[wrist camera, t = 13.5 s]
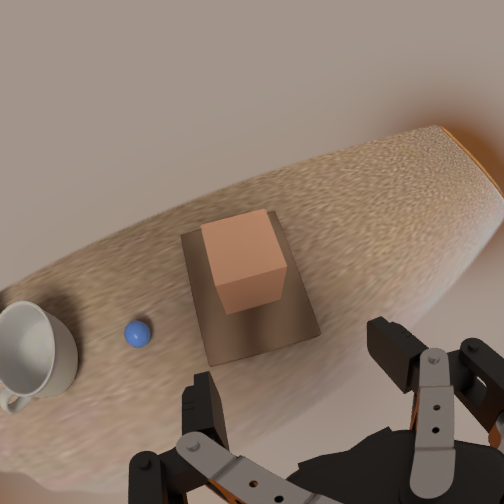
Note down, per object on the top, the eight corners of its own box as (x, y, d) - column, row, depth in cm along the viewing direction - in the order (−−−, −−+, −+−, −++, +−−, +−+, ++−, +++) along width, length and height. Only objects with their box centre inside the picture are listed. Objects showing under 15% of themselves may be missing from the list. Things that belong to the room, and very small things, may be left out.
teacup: (55, 305, 33) (19, 281, 26) (105, 355, 30) (67, 340, 23) (10, 379, 28) (-29, 368, 20) (54, 435, 25) (13, 436, 18)
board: (211, 366, 30) (209, 365, 29) (182, 239, 37) (180, 235, 36) (318, 335, 31) (321, 333, 30) (274, 216, 38) (274, 211, 37)
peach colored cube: (226, 314, 31) (215, 286, 24) (213, 265, 34) (200, 225, 26) (280, 299, 32) (287, 266, 24) (264, 251, 34) (265, 208, 27)
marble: (132, 351, 30) (121, 347, 28) (128, 327, 32) (118, 320, 29) (156, 347, 31) (147, 341, 28) (152, 321, 32) (142, 314, 29)
